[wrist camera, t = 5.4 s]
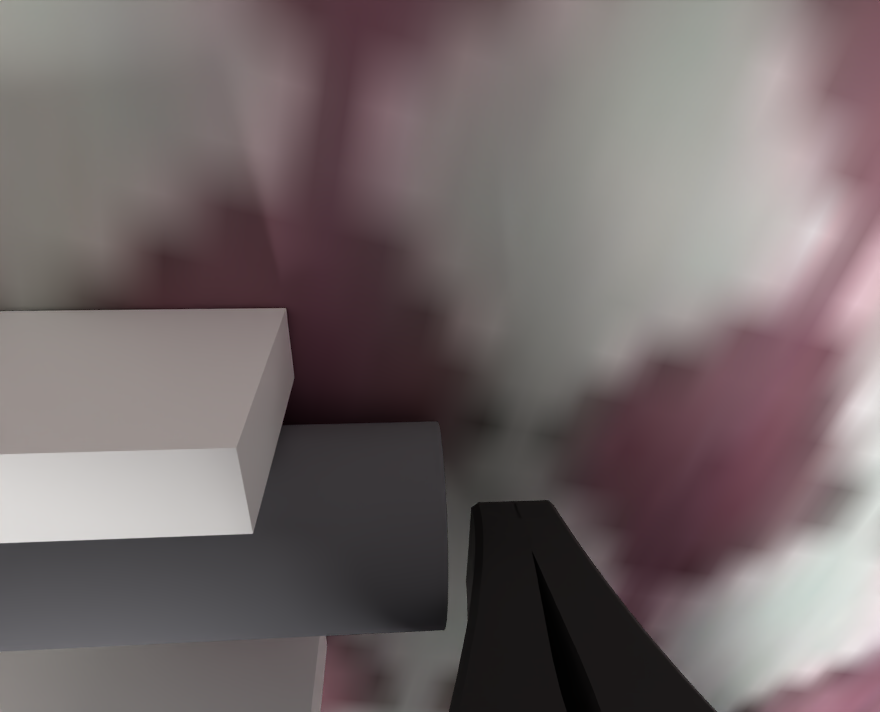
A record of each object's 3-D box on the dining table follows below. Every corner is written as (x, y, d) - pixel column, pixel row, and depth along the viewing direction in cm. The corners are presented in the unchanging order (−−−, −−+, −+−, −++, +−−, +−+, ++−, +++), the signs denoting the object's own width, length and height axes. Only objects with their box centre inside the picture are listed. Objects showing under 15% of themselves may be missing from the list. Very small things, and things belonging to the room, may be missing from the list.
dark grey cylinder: (431, 441, 11) (442, 399, 8) (437, 618, 10) (451, 643, 7) (-27, 453, 10) (-191, 413, 7) (-70, 643, 9) (-274, 679, 6)
